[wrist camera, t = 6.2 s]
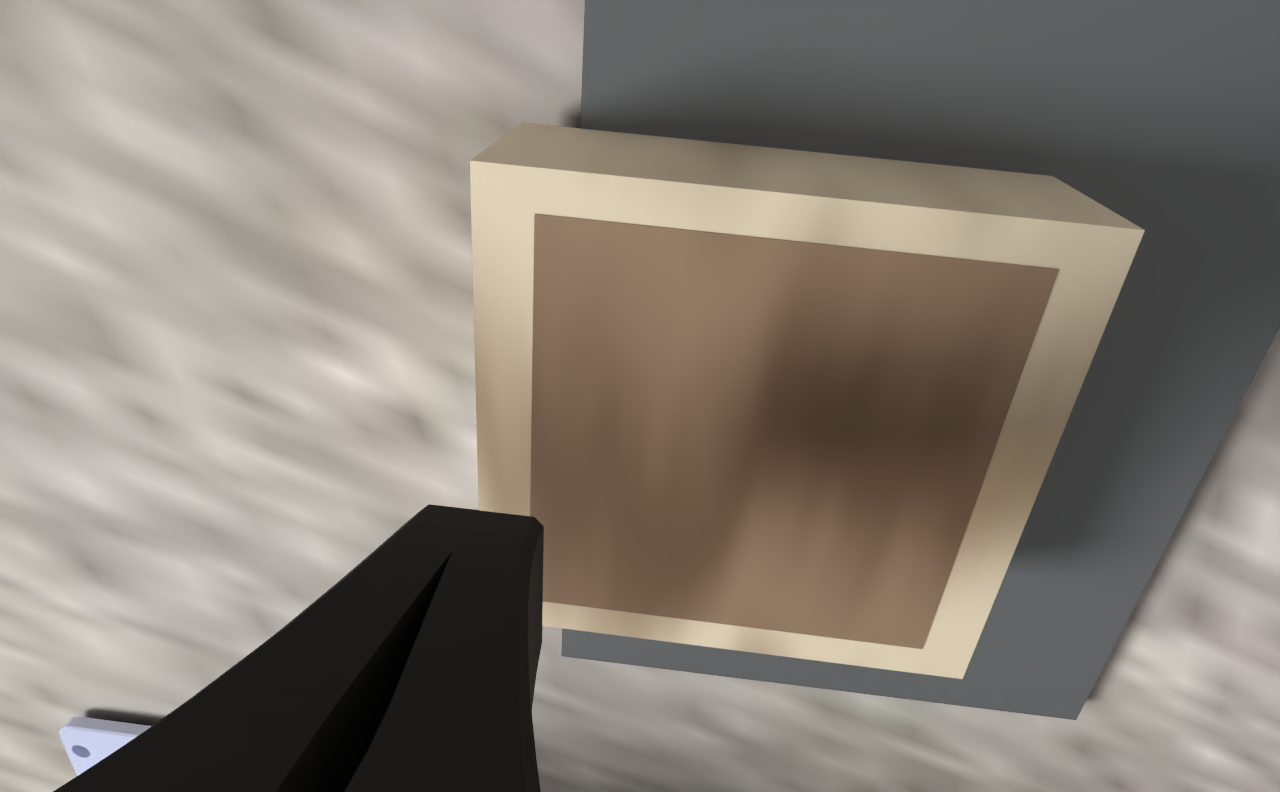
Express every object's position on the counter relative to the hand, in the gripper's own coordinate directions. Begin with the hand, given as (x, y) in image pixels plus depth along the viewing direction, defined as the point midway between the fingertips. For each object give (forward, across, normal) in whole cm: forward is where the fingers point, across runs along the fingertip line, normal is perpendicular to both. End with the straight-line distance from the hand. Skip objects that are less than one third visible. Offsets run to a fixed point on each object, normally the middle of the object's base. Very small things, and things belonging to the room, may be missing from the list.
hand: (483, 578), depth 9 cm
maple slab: (+5, +1, 0) cm, 5 cm away
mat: (+7, -6, 0) cm, 9 cm away
